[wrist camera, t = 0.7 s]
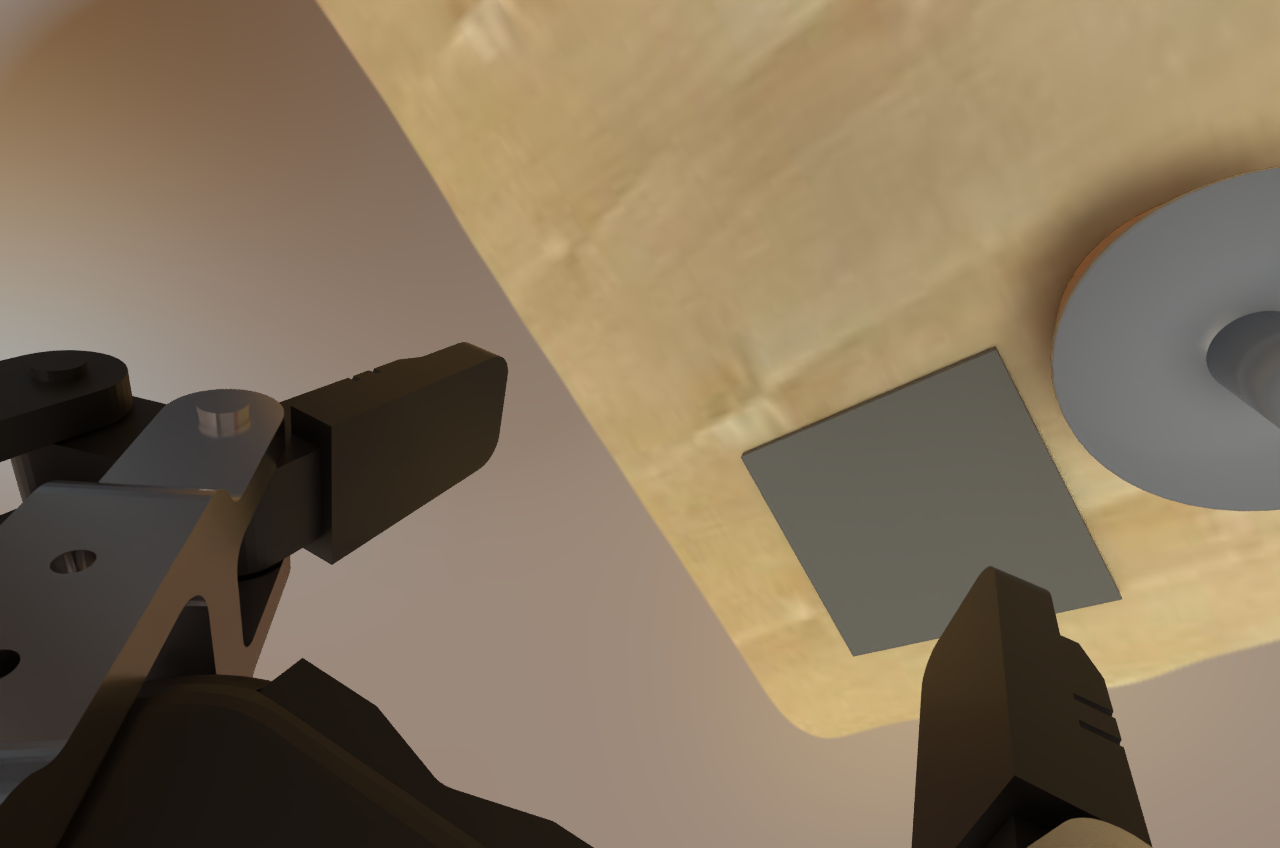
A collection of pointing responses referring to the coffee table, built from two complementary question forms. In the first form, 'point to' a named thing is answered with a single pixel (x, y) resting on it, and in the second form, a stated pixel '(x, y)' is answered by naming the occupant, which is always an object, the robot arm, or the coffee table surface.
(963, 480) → the mat
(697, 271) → the coffee table surface
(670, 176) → the coffee table surface
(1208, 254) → the lid
